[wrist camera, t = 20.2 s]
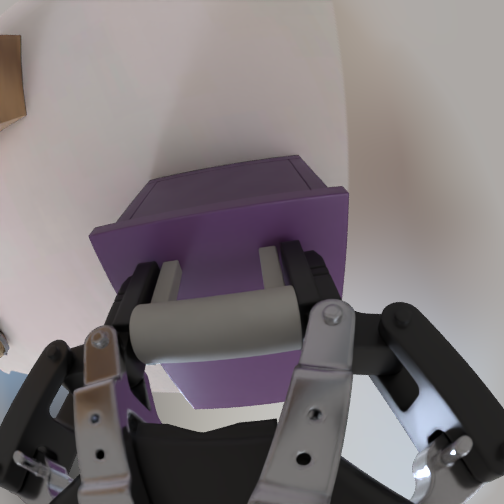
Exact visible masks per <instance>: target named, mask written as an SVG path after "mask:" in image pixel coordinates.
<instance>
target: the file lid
mask: <svg viewBox="0 0 504 504" xmlns="http://www.w3.org/2000/svg"><path fill="white" fill-rule="evenodd" d="M348 207H349V193H348V192H347V191H346V190H345V189H344V187H342V186H338V187H328V188H319V189H311V190H302V191H294V192H286V193H279V194H271V195H264V196H257V197H250V198H244V199H237V200H231V201H225V202H219V203H213V204H207V205H201V206H196V207H190V208H185V209H180V210H174V211H169V212H164V213H159V214H154V215H149V216H144V217H140V218H135V219H130V220H126V221H121V222H117V223H113V224H108V225H104V226H100V227H96V228H94V230H93V231H92V232H91V233H90V235H89V239H90V241H91V243H92V246H93V248H94V250H95V252H96V254H97V256H98V258H99V260H100V262H101V264H102V267H103V269H104V271H105V272H106V274H107V276H108V278H109V280H110V282H111V284H112V286H113V288H114V290H115V291H116V293H117V295H118V291H119V289H120V287H121V285H122V284H123V283H124V282H125V281H126V279H127V278H128V277H130V276H132V275H133V273H134V271H135V269H136V266H137V265H138V264H139V263H145V262H151V261H156V262H157V264H158V266H159V269H160V274H159V277H158V280H157V283H156V287H155V290H154V293H153V297H152V300H151V303H149V304H140V305H137V306H136V307H135V308H134V309H133V311H132V314H131V317H130V325H129V331H130V340H131V344H132V347H133V350H134V353H135V354H136V356H137V358H138V359H139V360H140V361H141V362H143V363H145V364H161V366H162V367H163V368H164V370H165V371H166V373H167V374H168V375H169V377H170V378H171V380H172V381H173V382H174V384H175V385H176V386H177V388H178V389H179V390H180V392H181V393H182V394H183V395H184V397H185V398H186V399H187V400H188V401H189V403H190V404H191V405H192V407H193V408H194V409H214V408H231V407H243V406H253V405H262V404H271V403H277V402H285V398H286V395H287V391H288V388H289V384H290V380H291V377H292V373H293V370H294V367H295V366H296V365H298V363H299V359H300V355H301V351H299V349H301V348H302V327H301V319H300V313H299V307H298V302H297V298H296V294H295V291H294V288H293V286H291V285H288V286H285V282H284V278H283V270H282V259H281V249H280V242H286V241H293V240H299V242H300V244H301V247H302V249H303V252H304V251H311V250H314V251H315V252H317V253H318V254H319V255H321V256H322V258H323V260H324V262H325V264H326V267H327V268H328V270H329V274H330V275H331V277H332V279H333V281H334V283H335V286H336V288H337V290H338V292H339V294H340V297H341V299H342V293H343V283H344V273H345V261H346V248H347V231H348Z"/></svg>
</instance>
